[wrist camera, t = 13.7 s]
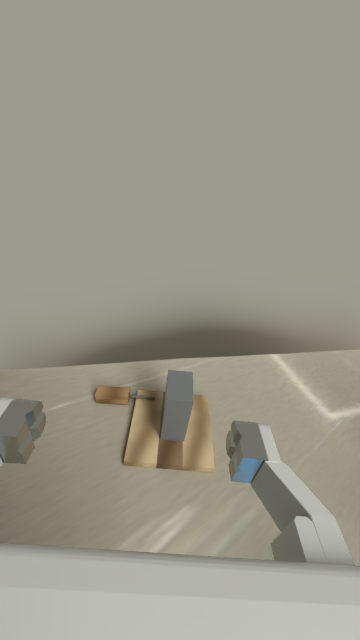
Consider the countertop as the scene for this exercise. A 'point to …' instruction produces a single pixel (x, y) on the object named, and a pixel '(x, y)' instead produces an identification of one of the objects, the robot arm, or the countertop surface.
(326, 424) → the countertop surface
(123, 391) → the awl
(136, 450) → the plywood board
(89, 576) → the robot arm
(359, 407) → the countertop surface
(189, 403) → the block
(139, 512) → the countertop surface
